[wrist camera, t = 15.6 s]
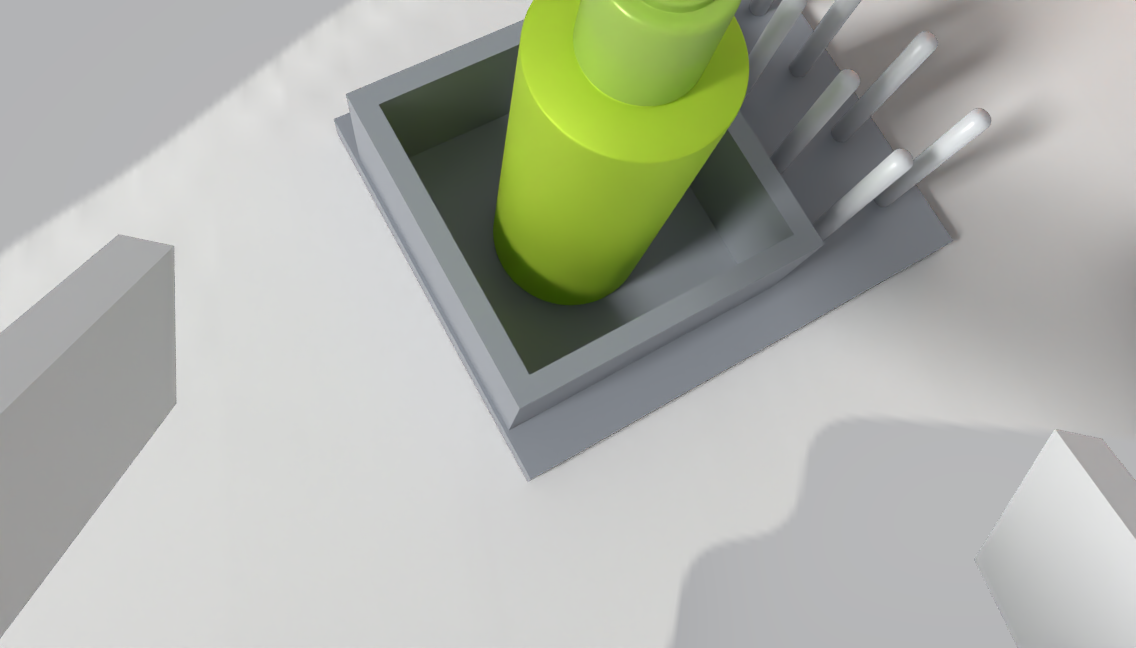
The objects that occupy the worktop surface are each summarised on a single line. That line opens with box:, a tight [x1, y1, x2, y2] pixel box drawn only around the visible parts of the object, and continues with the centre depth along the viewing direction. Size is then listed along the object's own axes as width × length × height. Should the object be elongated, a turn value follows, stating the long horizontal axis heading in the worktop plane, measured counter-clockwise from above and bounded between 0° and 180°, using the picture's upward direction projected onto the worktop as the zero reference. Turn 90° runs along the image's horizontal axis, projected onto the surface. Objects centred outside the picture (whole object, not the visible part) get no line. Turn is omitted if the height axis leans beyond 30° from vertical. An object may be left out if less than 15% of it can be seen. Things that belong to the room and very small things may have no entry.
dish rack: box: [334, 0, 991, 481], centre depth 33 cm, size 20×16×8 cm
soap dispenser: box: [493, 0, 749, 305], centre depth 25 cm, size 6×7×20 cm
